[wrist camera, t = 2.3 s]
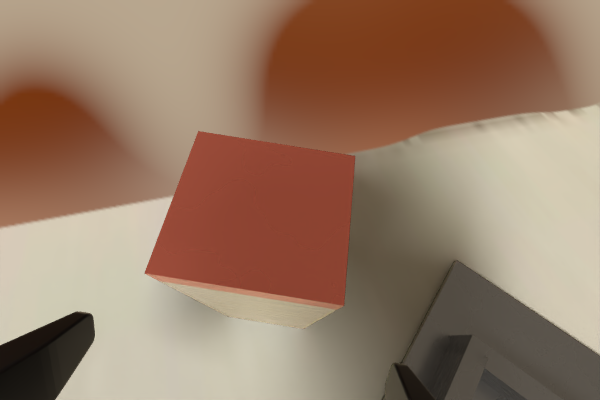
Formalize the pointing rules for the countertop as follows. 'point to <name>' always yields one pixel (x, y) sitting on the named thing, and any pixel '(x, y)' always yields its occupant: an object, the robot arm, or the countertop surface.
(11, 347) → the robot arm
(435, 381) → the plate
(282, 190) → the block
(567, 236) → the countertop surface
